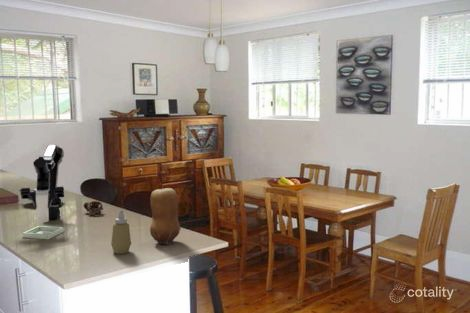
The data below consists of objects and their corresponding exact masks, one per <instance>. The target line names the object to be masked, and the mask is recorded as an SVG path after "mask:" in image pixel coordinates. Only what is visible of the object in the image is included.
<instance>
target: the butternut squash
mask: <svg viewBox="0 0 470 313" xmlns="http://www.w3.org/2000/svg"><path fill="white" fill-rule="evenodd" d="M178 203H179V202H178V194H177V191H176V190H175V189H174V188H170V187H169V188H166V187H165V188H159V189H158V188H157V189H155V190H153V191H152V192H151V194H150V210H151V214H152V217H151V223H150V228H149V232H150V233H149V234H150V236H151V237H152V238H153V239H154V241H155V242H157V243H159V244H161V243H163V244H164V243H165V245H167V244H166V243H170V244H171V243H172V242H173V241H174V240H175V239H176V238H177V237H178V235H179V234H180V231H181V229H182V227H181V224H180V221H179V218H178V217H179V214H178V212H179V204H178Z"/></svg>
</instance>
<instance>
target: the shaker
mask: <svg viewBox="0 0 470 313" xmlns="http://www.w3.org/2000/svg"><path fill="white" fill-rule="evenodd" d="M35 210H36V212H35V214H36V222H37V223H41V224H42V223H48V222H49V221H50V220H49V208H48V190H38V191H36V209H35Z"/></svg>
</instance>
